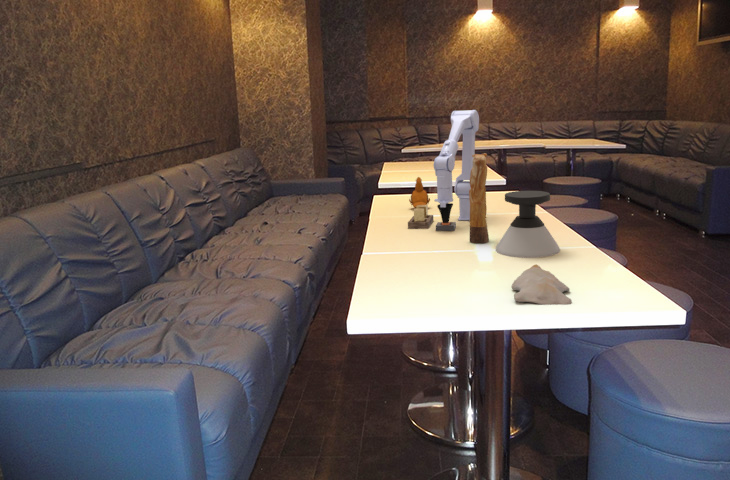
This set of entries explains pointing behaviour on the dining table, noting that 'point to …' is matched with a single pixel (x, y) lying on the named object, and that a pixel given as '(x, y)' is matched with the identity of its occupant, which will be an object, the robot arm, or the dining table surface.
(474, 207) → the sculpture
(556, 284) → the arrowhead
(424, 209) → the block
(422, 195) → the toy
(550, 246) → the light fixture
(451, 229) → the button housing
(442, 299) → the dining table surface
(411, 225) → the brown compartment tray
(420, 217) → the block
